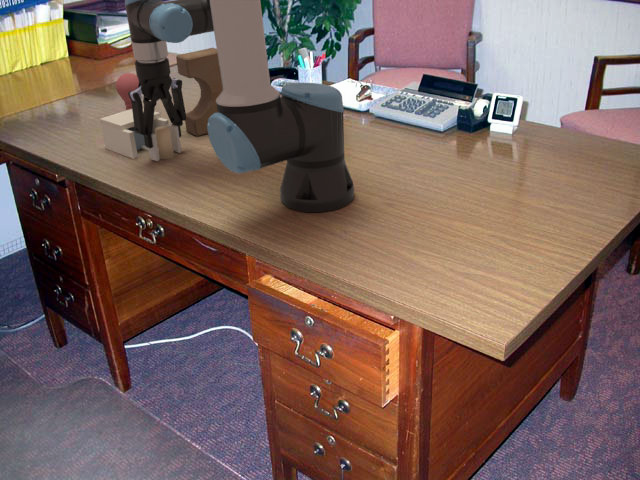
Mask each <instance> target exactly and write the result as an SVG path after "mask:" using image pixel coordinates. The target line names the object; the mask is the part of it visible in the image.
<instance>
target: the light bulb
mask: <svg viewBox="0 0 640 480" xmlns="http://www.w3.org/2000/svg"><path fill="white" fill-rule="evenodd" d="M138 84H139V80H138V77H137V74H134V73H131V72H127V73H123V74H121V75H120V76H119V77H118V78H117V80H116V83H115V89H116V91H117V94H118V96H119V97H120V98H121V100H123V102H124V105H125V111H126V110H130V109H132V103H131V100H130V98H129V95H128V92H129V91H132V92H133V91H135V90H136V89H138Z"/></svg>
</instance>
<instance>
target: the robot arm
mask: <svg viewBox="0 0 640 480" xmlns="http://www.w3.org/2000/svg"><path fill="white" fill-rule="evenodd" d="M261 3H262V2H261V0H168V1H166V0H165V1H164V0H124V8H125V12H126V16H127V17H126V18H127V22H128V23H127V24H128V29H129V36H130V42H131V48H132V52H133V59H135V62H134V67H135V73H136V74H135V75H136V76H137V77H138V80H139V84H138V89H136V90H135V91H133V92H132V91H129V92H128V95H129V98H130V100H131V103H132V111H133V120H134V128H135V132H136V133H138V134H141V135H144V141H145V146H146V147H147V148H148V149H149V151H148V154H149V159H150V160H153V161H155V162H159V161H160V157H159V154H158V145H157V141H156V134H153V133H152V130H153V120H154V111H155V107H156V106H157V102H158V101H161V103H162V105H163V107H164V110H165V112H166V114H167V116H168V120H169V121H170V123H169V125H168V126H169V128H170V134H171V140H172V147H173V152H175V153H177V154H180V153H182V147H181V140H180V138H181V137H182V129H181V127H182V126H183V125H184V122H185V120H186V108H185V102H184V96H183V91H182V89H183V88H182V87H183V81H182V80H181V79H178V78H175V77H174V78H171V76H170V75H171V68H170V67H171V66H170V60H169V58H168V56H169V51H168V44H167V43H172V44H178V43H182V42H184V41H185V40H186V39H187V38H189V37H191V36H196V35H201V34H206V33H211V32H214V33H213V34H214V39H215V41H214V42H215V46H216V49H217V54H218V61H219V67H220V74H221V81H222V88H223V90H222V92H221V94H220V95H219V96H218V98H217V99H216V105H217V112H218V113H214V114H213V115H211V116H210V117H209V120H208V124H207V129H208V138H209V141H210V145H211V147H212V148H213V149H212V150H213V151H214V153H215V155H216V156H217V158H218V159H219V161H220V162H221V164H223V166H224V167H225V168H226V169H228V170H229V171H231V172H232V173H235V174H243V173H249V172H253V171H255V172H256V171H260V170H261V169H263V168H267V167H270V166H272V165H276V164H279V163H282V162H285V161H286V166H285V169H284V173H283V176H282V180H281V184H280V189H279V193H280V201H281V203H282V204H283V205H284V206H285V207H287V208H290V209H291V210H293V211H298V212H303V213H304V212H305V213H322V212H323V213H325V212H331V211H335V210H338V209H341V208H344V207H345V206H347V205H349V204H350V203H351V202H352V201H353V200H354V198H355V185H354V181H353V179H352V176H351V173H350V170H349V168H348V166H347V163H346V158H345V135H344V134H345V132H344V131H345V130H344V128H345V127H344V113H345V109H344V102H343V95H342V93H341V91H340V90H339V89H337V88H336V87H334V86H331V85H328V84H323V83H318V82H317V83H316V82H293V83H292V82H291V83H287V84H285V85H284V86H282V87H281V91H279V90H278V89H277V88H275V87H274V86H273V85H271V79H270V78H271V77H270V69H269V63H268V62H269V61H268V54H267V53H268V52H267V45H266V38H265V28H264V20H263V12H262V11H263V10H262V4H261ZM170 90H171V92H170ZM142 95H143V96H142ZM142 99H143V101H142ZM143 108H144V111H143Z"/></svg>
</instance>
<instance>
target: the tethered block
mask: <svg viewBox="0 0 640 480" xmlns="http://www.w3.org/2000/svg"><path fill="white" fill-rule="evenodd" d="M127 130H130V131H133V132H134V138H135V144H136V149H137V151H139V150H144V151H147V152H149V149H148V148H147V147H146V146H145V141H144V135H141V134H138V133H136V132H135V128H134V127H131V128H128V129H127ZM155 133H156V139H157V147H158V154H159V160H160V159H161V160H169V159H173V158H174V156H175V155H174V151H173V147H172V140H171V134H170V128H169V127H166V126H163V127H158V128H156V129H155Z"/></svg>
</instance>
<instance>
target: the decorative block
mask: <svg viewBox="0 0 640 480" xmlns="http://www.w3.org/2000/svg"><path fill="white" fill-rule="evenodd" d="M175 58H176V59H175V60H176V66H177V74H179V76H183V77H185V78H188V79H194V80H195V81H196V82H197V83H198V86H199V89H200V97H199V100H198V101H197V104H196V105H195V106H194V108H193V109H192V110H191V111H189V112H187V113H186V120H185V121H184V123H185V131H186V132H187V133H189V134H191V135H193V136H195V137H200V136H204V135H206V134H208V129H207V124H208V120H209V117H210V116H211V115H213V114H214V113H218V112H217V105H216V99H217V98H218V96H219V95H220V94H221V92H222V90H223V88H222V81H221V74H220V67H219V61H218V54H217V47H216V48H215V47H210V48H203V49H200V50H194V51H190V52H185V53H182V54H181V53H180V54H177V55H176V57H175Z"/></svg>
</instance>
